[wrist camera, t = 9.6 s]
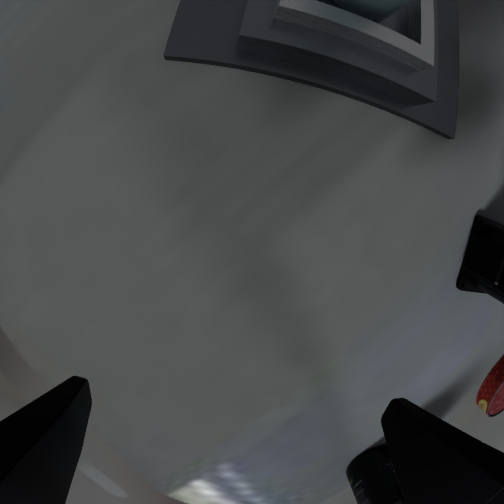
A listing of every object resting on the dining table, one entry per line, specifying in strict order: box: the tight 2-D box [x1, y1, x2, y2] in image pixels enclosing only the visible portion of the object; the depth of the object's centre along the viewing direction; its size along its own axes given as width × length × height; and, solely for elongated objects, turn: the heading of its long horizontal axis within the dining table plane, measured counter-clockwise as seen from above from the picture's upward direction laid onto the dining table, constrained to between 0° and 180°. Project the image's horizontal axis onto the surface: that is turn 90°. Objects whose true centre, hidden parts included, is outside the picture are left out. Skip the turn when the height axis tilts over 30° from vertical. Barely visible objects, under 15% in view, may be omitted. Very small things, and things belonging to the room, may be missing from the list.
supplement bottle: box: [346, 445, 406, 504], centre depth 22 cm, size 7×7×12 cm
